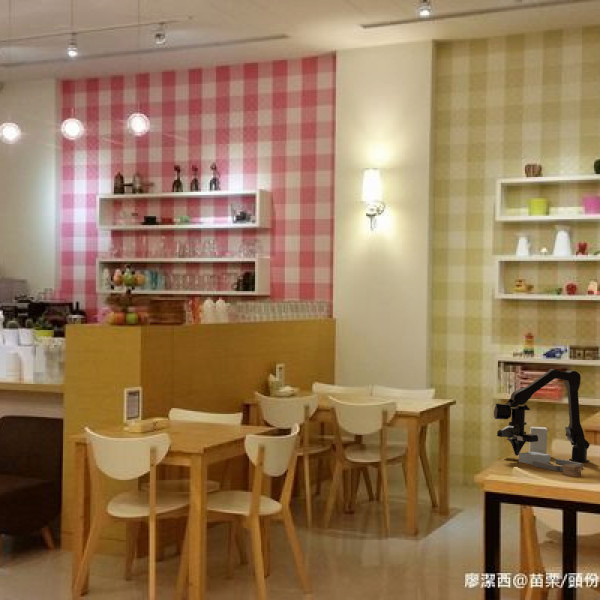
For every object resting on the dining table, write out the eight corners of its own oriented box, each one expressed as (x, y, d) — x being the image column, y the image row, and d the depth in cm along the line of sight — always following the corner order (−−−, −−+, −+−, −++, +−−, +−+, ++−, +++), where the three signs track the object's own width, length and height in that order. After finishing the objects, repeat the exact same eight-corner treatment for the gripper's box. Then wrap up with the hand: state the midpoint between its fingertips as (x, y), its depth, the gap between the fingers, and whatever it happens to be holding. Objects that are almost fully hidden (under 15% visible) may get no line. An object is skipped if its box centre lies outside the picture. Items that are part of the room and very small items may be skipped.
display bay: (557, 463, 391) (557, 458, 391) (582, 468, 380) (583, 463, 380) (532, 466, 381) (532, 461, 381) (558, 471, 370) (558, 466, 370)
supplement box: (546, 457, 406) (547, 429, 406) (529, 456, 407) (530, 428, 407) (545, 454, 413) (546, 427, 413) (528, 453, 415) (529, 425, 415)
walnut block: (570, 473, 368) (570, 463, 368) (581, 475, 364) (581, 465, 364) (562, 474, 365) (563, 464, 365) (573, 476, 361) (573, 466, 361)
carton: (532, 460, 397) (532, 451, 397) (550, 464, 390) (550, 454, 390) (518, 462, 391) (519, 453, 391) (536, 466, 384) (536, 456, 384)
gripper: (489, 418, 401) (488, 453, 401) (522, 423, 386) (521, 460, 386) (506, 416, 408) (504, 451, 408) (539, 422, 393) (538, 458, 393)
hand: (516, 455), depth 398 cm, fingers closed
